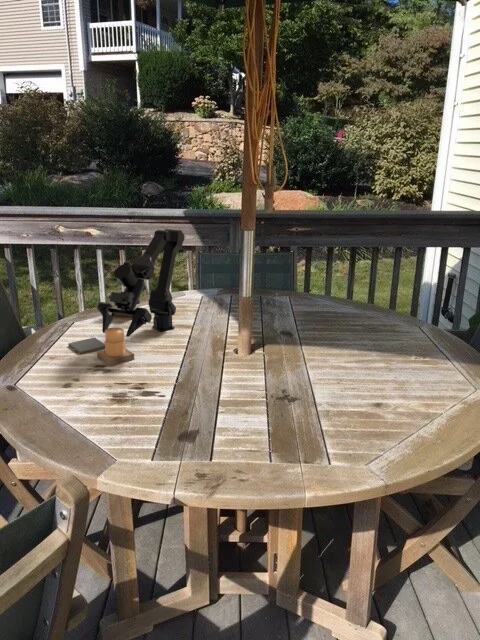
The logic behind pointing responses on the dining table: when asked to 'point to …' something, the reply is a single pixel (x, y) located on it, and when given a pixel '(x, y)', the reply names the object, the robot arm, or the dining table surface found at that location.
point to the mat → (87, 345)
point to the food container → (116, 307)
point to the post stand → (115, 357)
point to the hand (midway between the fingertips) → (115, 334)
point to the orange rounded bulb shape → (114, 341)
